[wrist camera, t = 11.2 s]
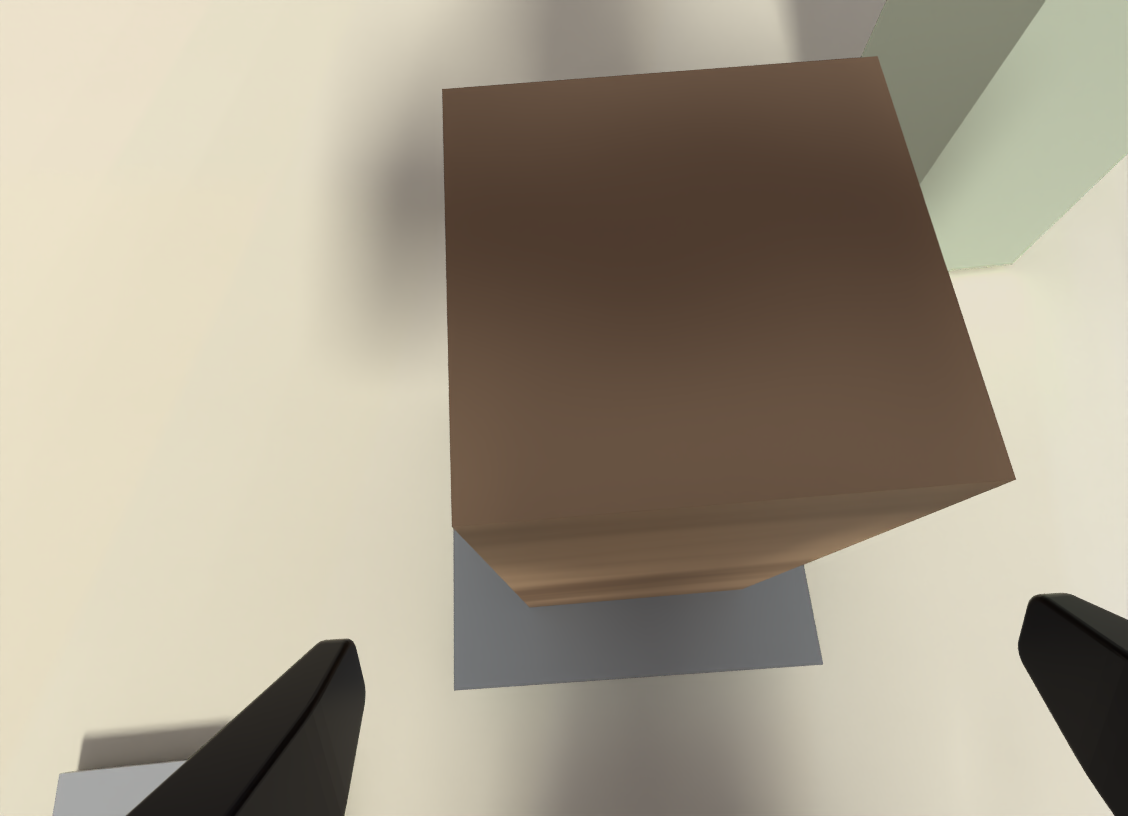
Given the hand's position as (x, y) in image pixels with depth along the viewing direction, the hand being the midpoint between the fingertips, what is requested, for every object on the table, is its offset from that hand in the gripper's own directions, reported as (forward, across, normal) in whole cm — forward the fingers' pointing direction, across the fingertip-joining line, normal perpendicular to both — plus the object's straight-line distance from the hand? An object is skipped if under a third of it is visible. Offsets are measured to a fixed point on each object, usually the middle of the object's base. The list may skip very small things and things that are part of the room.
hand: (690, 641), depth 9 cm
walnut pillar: (+10, 0, +4) cm, 11 cm away
